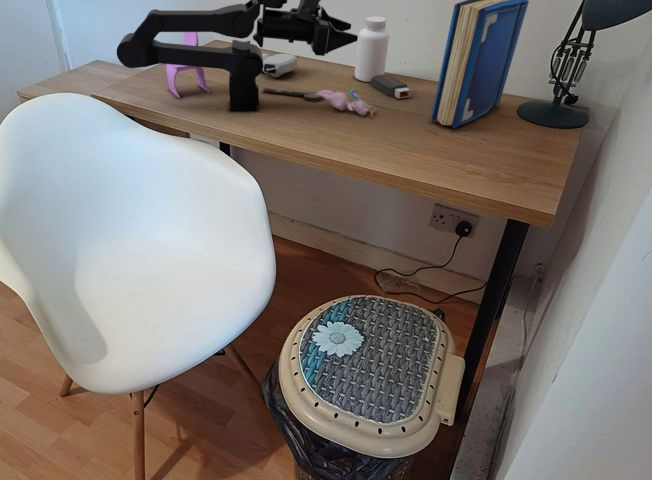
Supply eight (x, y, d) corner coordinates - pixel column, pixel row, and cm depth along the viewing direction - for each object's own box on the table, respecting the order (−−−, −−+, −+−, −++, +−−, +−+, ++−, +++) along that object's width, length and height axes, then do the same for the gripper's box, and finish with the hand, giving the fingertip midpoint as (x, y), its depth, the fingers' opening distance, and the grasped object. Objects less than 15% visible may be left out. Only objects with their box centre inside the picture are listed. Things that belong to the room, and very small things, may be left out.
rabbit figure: (375, 116, 127) (318, 96, 130) (382, 92, 123) (323, 72, 126) (367, 125, 122) (309, 104, 125) (374, 101, 118) (314, 80, 121)
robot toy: (235, 76, 146) (281, 82, 139) (234, 59, 143) (280, 64, 137) (260, 64, 154) (304, 70, 148) (259, 48, 152) (304, 53, 145)
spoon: (260, 94, 133) (260, 90, 132) (266, 89, 136) (266, 84, 136) (318, 102, 130) (319, 97, 129) (323, 96, 133) (323, 91, 132)
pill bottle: (382, 84, 141) (390, 23, 131) (352, 81, 142) (358, 21, 132) (384, 74, 147) (392, 15, 137) (355, 72, 148) (361, 13, 138)
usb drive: (386, 82, 142) (388, 71, 140) (412, 97, 133) (414, 86, 131) (370, 84, 140) (371, 74, 138) (395, 100, 131) (396, 89, 130)
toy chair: (166, 89, 135) (158, 26, 126) (198, 83, 139) (193, 22, 129) (178, 99, 130) (170, 35, 120) (211, 93, 133) (206, 30, 124)
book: (477, 99, 133) (504, -12, 117) (503, 107, 129) (535, -7, 113) (428, 122, 121) (451, 2, 105) (455, 132, 117) (484, 8, 101)
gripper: (292, -6, 104) (369, 3, 106) (286, -25, 118) (354, -17, 120) (286, 53, 111) (358, 60, 113) (281, 28, 125) (345, 34, 127)
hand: (354, 32), depth 118 cm, fingers open, 9 cm apart
